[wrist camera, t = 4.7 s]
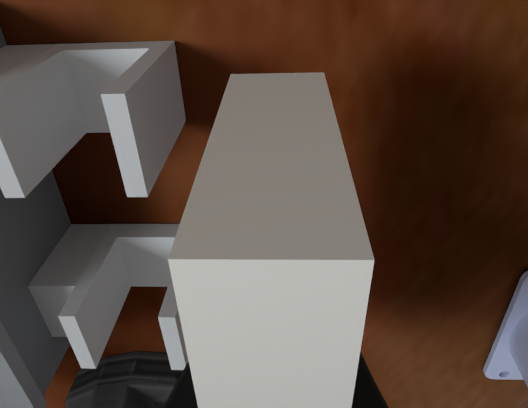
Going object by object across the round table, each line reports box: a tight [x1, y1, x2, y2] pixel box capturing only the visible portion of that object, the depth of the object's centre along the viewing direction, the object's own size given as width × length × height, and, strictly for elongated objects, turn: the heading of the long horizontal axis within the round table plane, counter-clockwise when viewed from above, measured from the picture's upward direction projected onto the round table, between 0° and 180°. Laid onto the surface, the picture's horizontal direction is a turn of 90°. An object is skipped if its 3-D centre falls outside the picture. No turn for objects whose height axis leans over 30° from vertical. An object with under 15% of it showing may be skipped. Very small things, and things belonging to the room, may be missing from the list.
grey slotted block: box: [0, 27, 188, 408], centre depth 16 cm, size 11×14×7 cm
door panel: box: [168, 73, 374, 408], centre depth 10 cm, size 12×2×6 cm, turn 2°
